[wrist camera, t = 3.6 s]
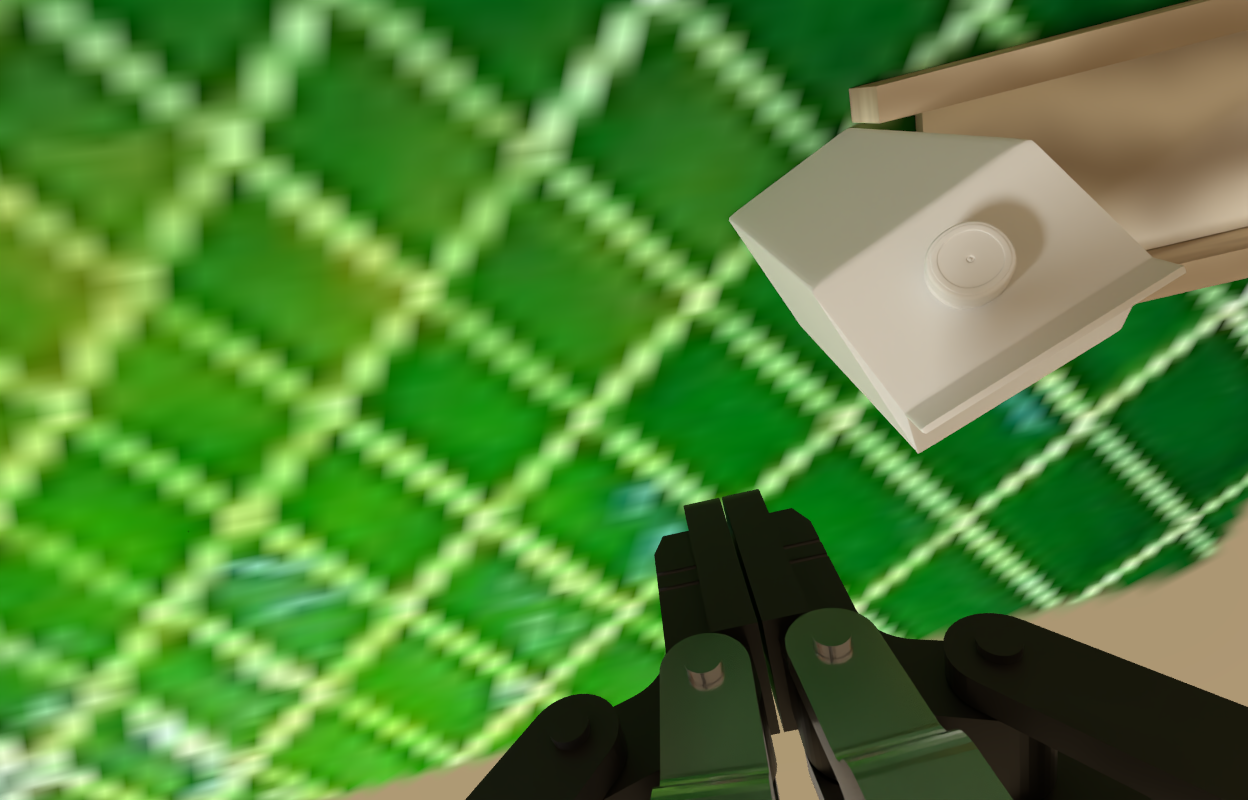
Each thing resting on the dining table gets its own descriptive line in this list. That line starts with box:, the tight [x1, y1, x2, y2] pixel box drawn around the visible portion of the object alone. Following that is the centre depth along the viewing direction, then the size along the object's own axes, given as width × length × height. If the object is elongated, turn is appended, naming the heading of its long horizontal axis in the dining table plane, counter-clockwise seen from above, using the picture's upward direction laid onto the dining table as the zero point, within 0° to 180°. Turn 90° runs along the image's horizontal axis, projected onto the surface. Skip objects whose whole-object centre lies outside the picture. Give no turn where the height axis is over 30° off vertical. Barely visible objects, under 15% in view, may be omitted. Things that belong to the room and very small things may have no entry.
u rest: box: [849, 0, 1248, 303], centre depth 32 cm, size 13×24×4 cm, turn 104°
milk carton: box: [729, 128, 1186, 453], centre depth 26 cm, size 7×7×19 cm
